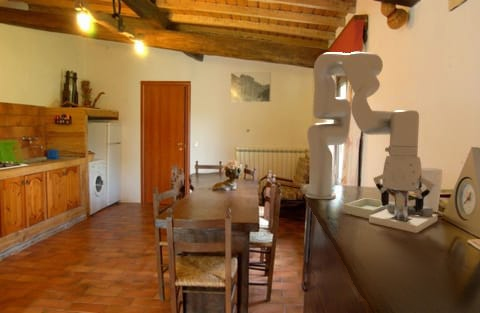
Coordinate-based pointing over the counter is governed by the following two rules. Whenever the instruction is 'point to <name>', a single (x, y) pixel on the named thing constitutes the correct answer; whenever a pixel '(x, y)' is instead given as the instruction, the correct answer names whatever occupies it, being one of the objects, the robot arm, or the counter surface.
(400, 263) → the counter surface
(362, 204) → the tray
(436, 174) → the drinking glass
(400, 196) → the lock pin
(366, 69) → the robot arm
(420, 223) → the pulley board
